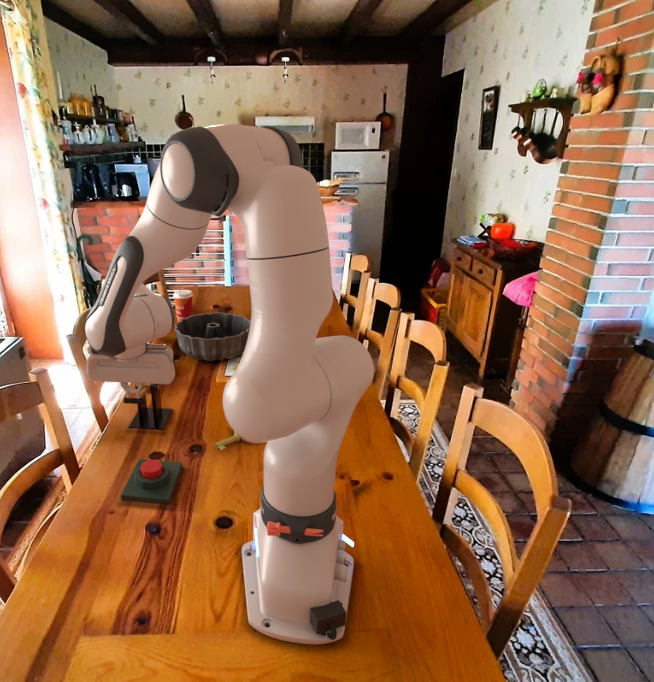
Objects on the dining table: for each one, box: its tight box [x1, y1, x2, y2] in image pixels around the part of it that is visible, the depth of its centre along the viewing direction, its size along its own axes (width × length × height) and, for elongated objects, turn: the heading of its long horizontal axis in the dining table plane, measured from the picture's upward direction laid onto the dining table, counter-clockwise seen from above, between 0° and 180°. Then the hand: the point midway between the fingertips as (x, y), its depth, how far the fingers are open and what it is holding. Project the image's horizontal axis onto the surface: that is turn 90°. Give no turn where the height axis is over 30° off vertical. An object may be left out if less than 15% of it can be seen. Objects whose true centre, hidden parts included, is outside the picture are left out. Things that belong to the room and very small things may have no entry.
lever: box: [123, 383, 151, 405], centre depth 119 cm, size 12×5×2 cm, turn 169°
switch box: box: [120, 458, 184, 506], centre depth 102 cm, size 12×10×4 cm
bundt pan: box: [174, 312, 251, 362], centre depth 165 cm, size 26×26×10 cm
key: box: [214, 430, 253, 451], centre depth 115 cm, size 7×12×2 cm, turn 146°
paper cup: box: [172, 289, 194, 323], centre depth 188 cm, size 8×8×14 cm
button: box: [141, 459, 163, 479], centre depth 101 cm, size 4×4×2 cm
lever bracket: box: [128, 383, 173, 431], centre depth 125 cm, size 10×9×12 cm
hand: (134, 397), depth 113 cm, fingers closed
